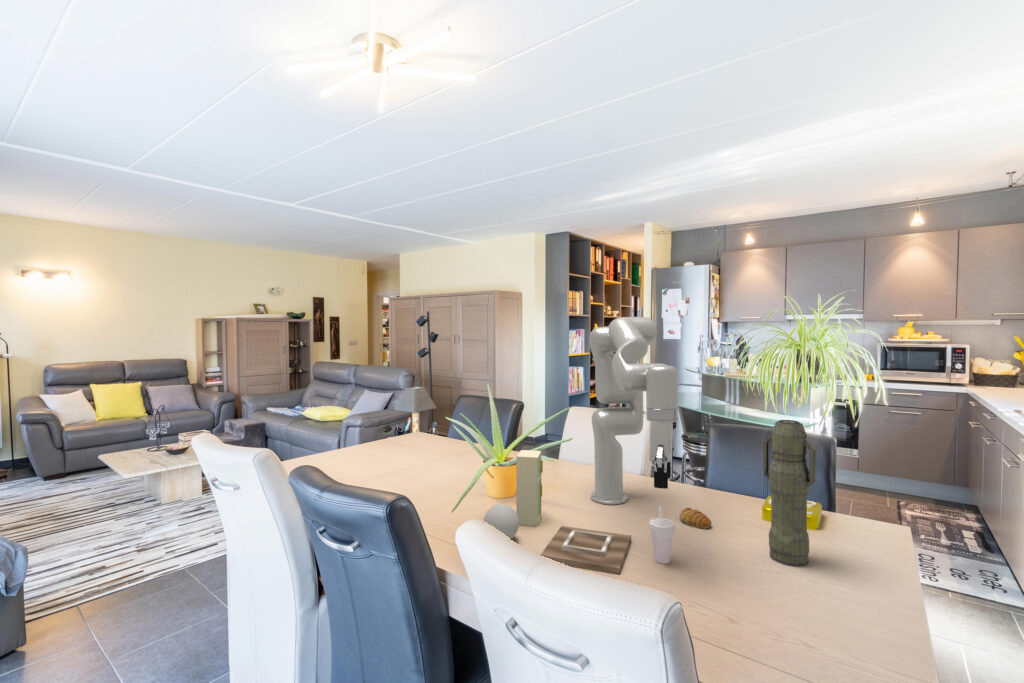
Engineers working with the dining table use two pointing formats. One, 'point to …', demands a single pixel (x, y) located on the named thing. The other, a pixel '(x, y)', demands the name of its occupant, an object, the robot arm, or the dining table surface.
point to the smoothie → (662, 538)
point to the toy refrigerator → (529, 487)
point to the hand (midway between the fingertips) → (662, 482)
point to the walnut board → (588, 549)
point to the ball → (503, 519)
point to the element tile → (812, 513)
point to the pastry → (695, 518)
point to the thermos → (789, 492)
